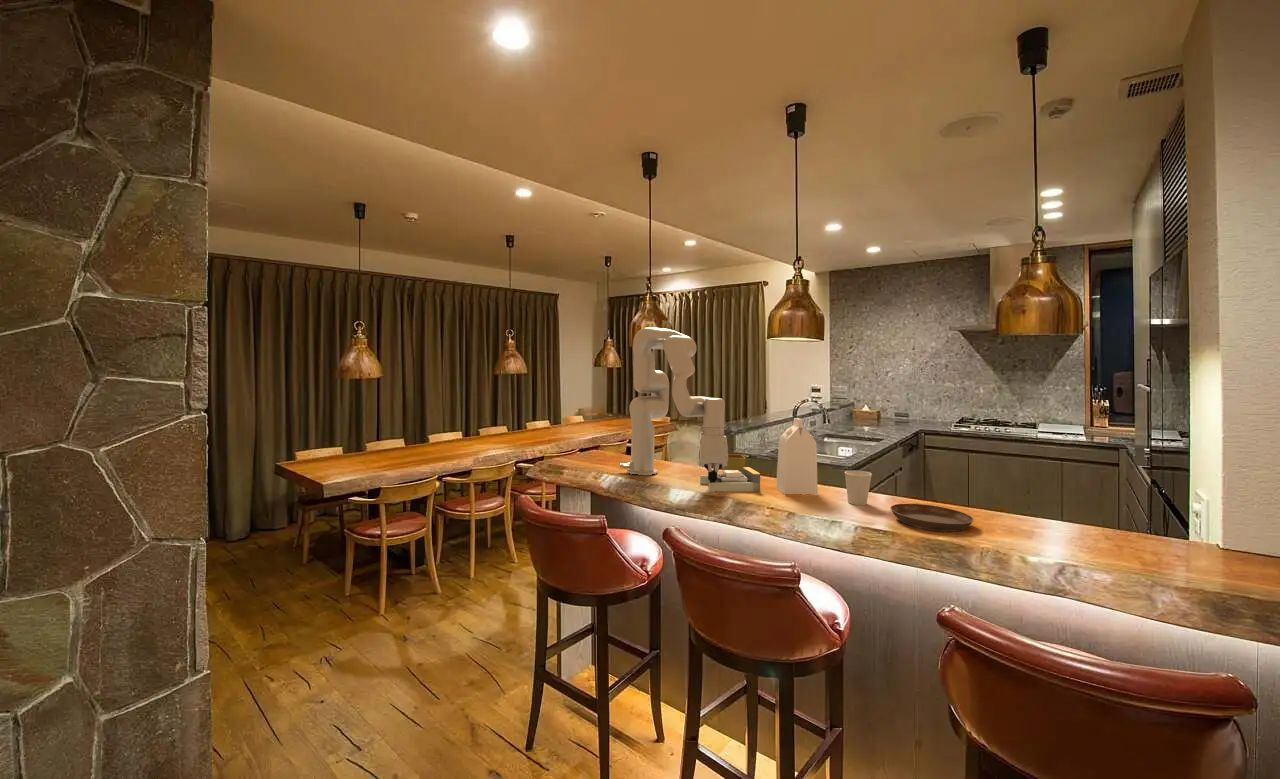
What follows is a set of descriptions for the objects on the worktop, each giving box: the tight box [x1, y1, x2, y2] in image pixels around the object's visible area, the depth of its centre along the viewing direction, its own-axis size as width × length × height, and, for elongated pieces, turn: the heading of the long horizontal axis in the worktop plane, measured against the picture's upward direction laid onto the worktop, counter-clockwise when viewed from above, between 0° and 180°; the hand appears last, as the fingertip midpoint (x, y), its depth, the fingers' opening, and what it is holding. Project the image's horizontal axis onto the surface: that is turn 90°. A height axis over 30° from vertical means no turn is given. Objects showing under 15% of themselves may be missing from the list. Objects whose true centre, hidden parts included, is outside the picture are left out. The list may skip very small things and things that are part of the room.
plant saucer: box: [890, 503, 974, 532], centre depth 150 cm, size 21×21×3 cm
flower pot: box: [721, 453, 747, 474], centre depth 210 cm, size 9×9×9 cm
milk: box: [775, 417, 819, 496], centre depth 188 cm, size 12×12×26 cm
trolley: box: [716, 470, 747, 482], centre depth 192 cm, size 10×7×6 cm
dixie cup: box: [844, 470, 873, 506], centre depth 172 cm, size 8×8×10 cm
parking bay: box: [699, 466, 761, 493], centre depth 192 cm, size 19×15×6 cm
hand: (712, 482), depth 192 cm, fingers closed
